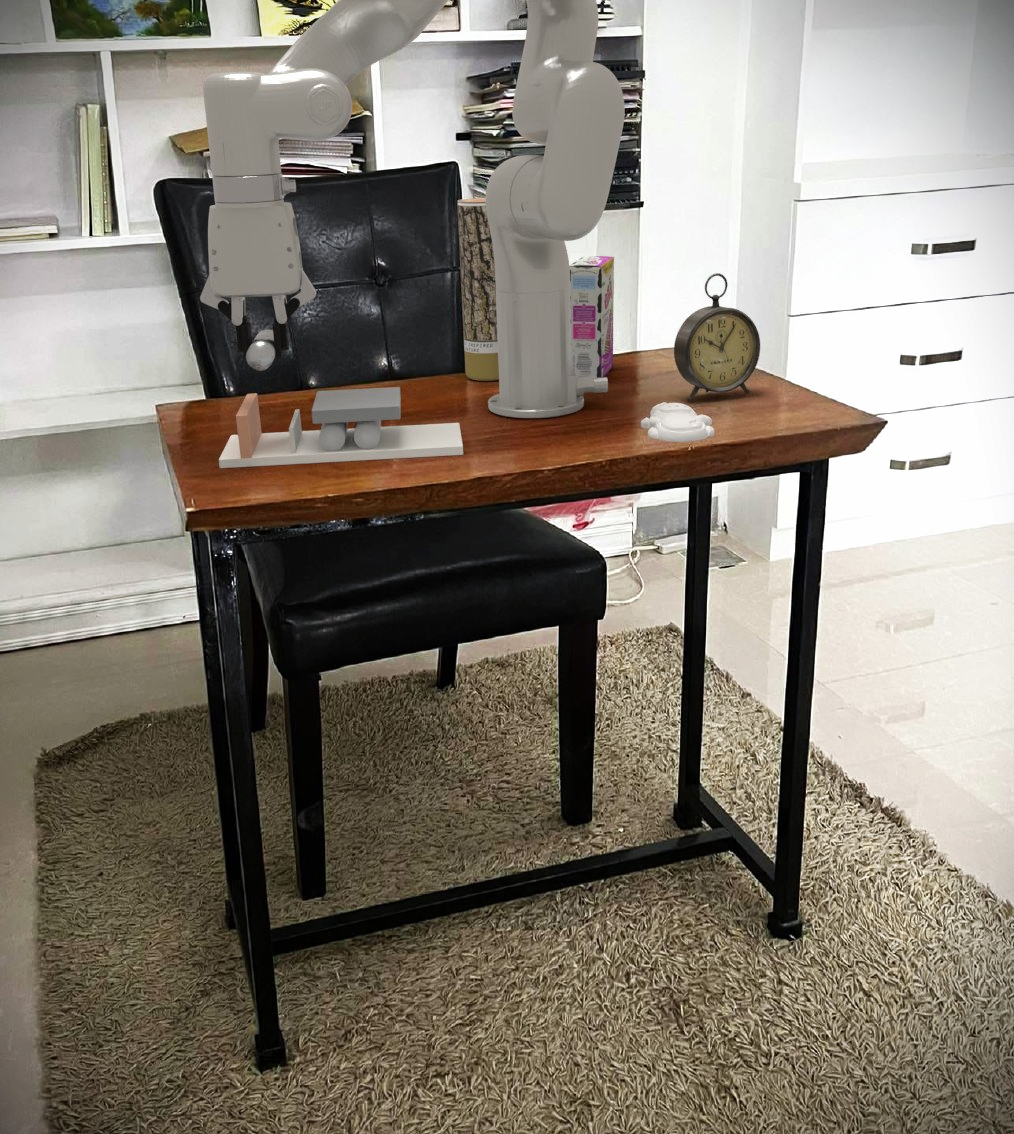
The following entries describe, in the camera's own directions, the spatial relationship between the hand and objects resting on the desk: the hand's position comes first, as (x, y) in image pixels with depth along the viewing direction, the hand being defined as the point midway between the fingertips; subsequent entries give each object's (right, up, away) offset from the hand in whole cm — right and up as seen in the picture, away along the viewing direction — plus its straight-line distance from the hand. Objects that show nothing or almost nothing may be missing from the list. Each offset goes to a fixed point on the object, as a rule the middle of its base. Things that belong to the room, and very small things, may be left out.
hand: (264, 355), depth 145 cm
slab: (+10, -6, +3) cm, 13 cm away
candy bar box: (+41, +3, +38) cm, 55 cm away
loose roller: (0, -1, 0) cm, 1 cm away
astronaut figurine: (+49, -8, +8) cm, 50 cm away
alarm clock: (+56, -2, +23) cm, 60 cm away
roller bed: (+9, -10, +5) cm, 14 cm away
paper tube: (+25, +3, +39) cm, 46 cm away
